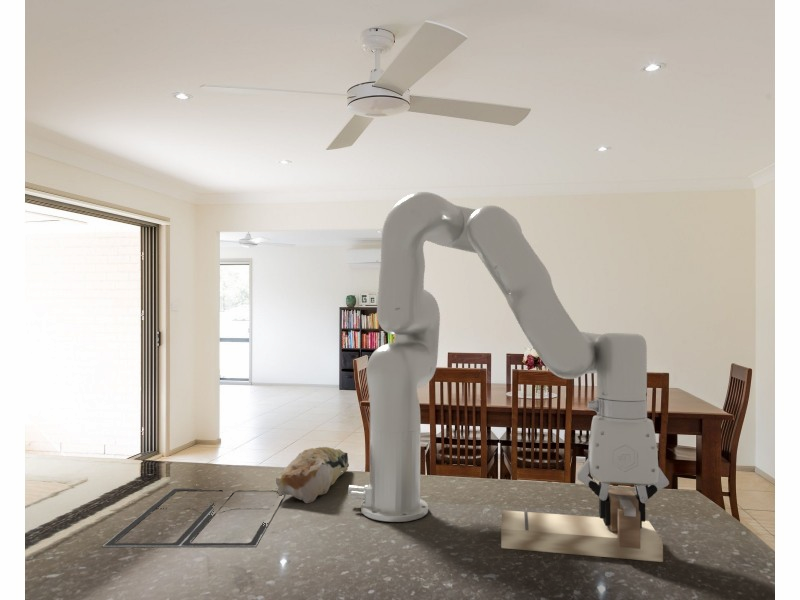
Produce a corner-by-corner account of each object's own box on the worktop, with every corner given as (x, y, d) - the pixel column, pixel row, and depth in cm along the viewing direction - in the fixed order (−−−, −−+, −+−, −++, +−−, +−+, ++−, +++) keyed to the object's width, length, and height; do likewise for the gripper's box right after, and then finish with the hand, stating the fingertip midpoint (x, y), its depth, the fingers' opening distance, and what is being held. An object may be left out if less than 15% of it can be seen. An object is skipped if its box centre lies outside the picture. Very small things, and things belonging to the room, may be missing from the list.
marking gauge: (616, 547, 85) (616, 507, 85) (606, 526, 94) (606, 489, 94) (644, 549, 84) (644, 509, 85) (631, 528, 93) (631, 491, 93)
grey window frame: (173, 491, 119) (102, 550, 89) (173, 488, 119) (102, 546, 89) (288, 491, 120) (255, 549, 90) (288, 488, 120) (255, 546, 90)
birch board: (501, 547, 90) (501, 528, 91) (502, 527, 99) (502, 509, 99) (662, 561, 86) (662, 541, 86) (648, 539, 95) (648, 520, 95)
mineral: (324, 432, 138) (363, 441, 136) (316, 470, 137) (356, 480, 135) (279, 449, 112) (326, 461, 110) (270, 496, 111) (317, 509, 109)
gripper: (570, 411, 90) (570, 528, 89) (684, 415, 87) (685, 537, 86) (565, 404, 97) (565, 512, 97) (670, 408, 94) (671, 520, 93)
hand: (621, 523), depth 91 cm, fingers closed on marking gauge, 4 cm apart
